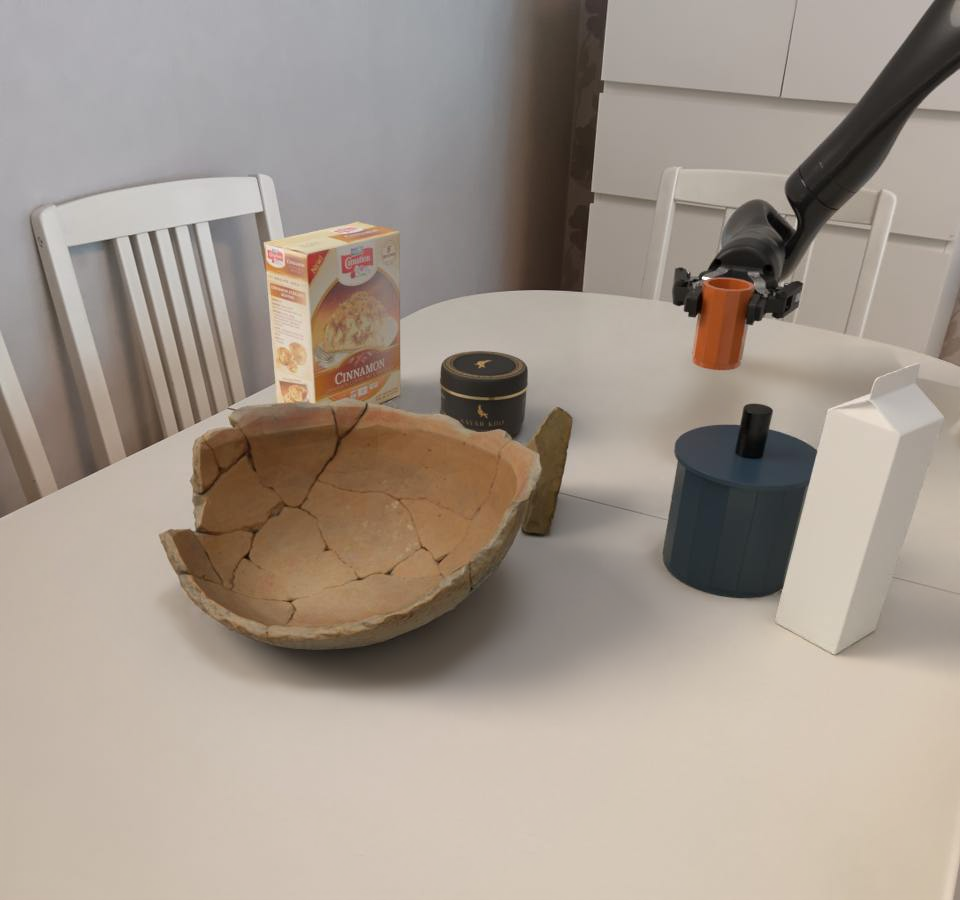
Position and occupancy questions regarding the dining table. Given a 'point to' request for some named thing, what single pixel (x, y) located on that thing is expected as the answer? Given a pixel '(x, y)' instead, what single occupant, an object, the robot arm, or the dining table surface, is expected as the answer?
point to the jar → (484, 390)
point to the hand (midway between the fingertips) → (721, 310)
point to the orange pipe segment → (722, 323)
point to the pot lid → (747, 454)
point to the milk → (858, 511)
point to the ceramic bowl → (346, 520)
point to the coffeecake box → (335, 314)
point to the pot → (730, 536)
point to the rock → (548, 470)
